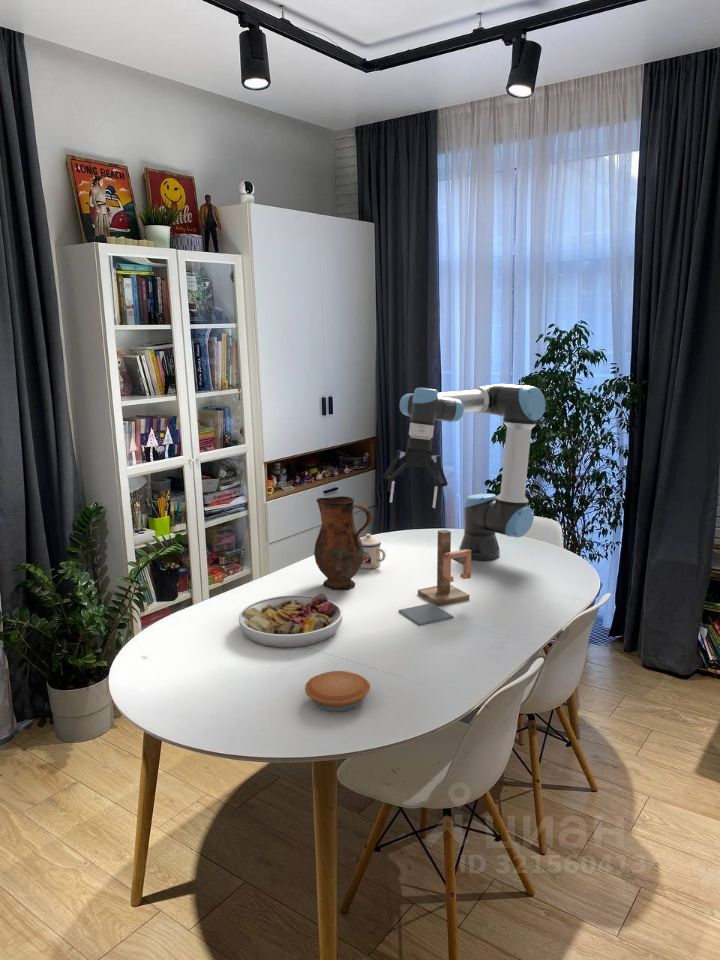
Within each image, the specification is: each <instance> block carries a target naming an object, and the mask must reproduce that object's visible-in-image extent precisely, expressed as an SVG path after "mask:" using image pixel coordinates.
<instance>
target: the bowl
mask: <svg viewBox="0 0 720 960" xmlns="http://www.w3.org/2000/svg"><path fill="white" fill-rule="evenodd" d="M342 621H343V610H342V608H341V607H340V606H339V605H338V604H337V603H335V602H333V601H332V600H329V599H328V597H327V595H326V594H325V593H321V592H320V593H318V594H317V593H316V594H315V595H313V596H312V595H311V596H310V595H295V594H294V595H293V594H291V595H280V596H273V597H269V598H265V599H262V600H258V601H255V602H253V603H251V604H249V605H247V606H246V607H244V608H243V609H242V610H241V612H240V613H239V615H238V624H239V628H240V629H241V631H242V633H243V634H244V635H245V636H246V637H247V638H248V639H250V640H251V641H253V642H255V643H258V644H261V645H264V646H266V647H267V646H268V647H273V648H298V647H304V646H310V645H313V644H318V643H319V642H322V641H324V640H327V639H328V638H329V637H331V636H332V635H334V634H335V633H336V632H337V631H338V630H339V628H340V626H341V625H342Z"/></svg>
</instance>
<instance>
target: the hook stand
mask: <svg viewBox="0 0 720 960" xmlns="http://www.w3.org/2000/svg"><path fill="white" fill-rule="evenodd" d="M451 539H452V531H450V530H448V529H440V530H437V550H436V551H437V554H436V555H437V557H436V558H437V562H436V564H437V565H436V566H437V567H436V572H437V573H436V585H433V586H429V587H424V588H420V589H418V588H417V595H419V596H420V597H422V598H423V599H425V600H427V601H429V602H430V603H433V604H434V605H436V606H438V607H441V606H445V605H448V604H449V605H450V604H454V603H458V602H463V601H468V600H470V594H468V593H467V592H465V591H463V590H461V589H460V588H458V587H456V586H454V585H452V584H451V582H448V583H446V582H444V581H443V555H444V553H448V552H452V551H451V550H452V549H451V546H452V544H451V541H452V540H451ZM452 560H453V561H455V562H457V563H459V564H461V565H463V564H464V563H465V560H464V559H463V557H459V558H453V559H452Z"/></svg>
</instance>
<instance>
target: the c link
mask: <svg viewBox="0 0 720 960" xmlns="http://www.w3.org/2000/svg"><path fill="white" fill-rule="evenodd" d="M459 557H460V558H462V559H464V560H465V563H464V564H462V568H463V569H462V570H463V571H462V572H460V578H461V579H463V580H467V579H471V577H472V559H471V550H469V549H464V550H454V551H451V552H448V553H444V555H443V581H444V582H446V583H448V582H450V583H453V582H454V580H455V579H454V576H453V575H452V560H453V558H459Z"/></svg>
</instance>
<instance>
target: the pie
mask: <svg viewBox="0 0 720 960" xmlns="http://www.w3.org/2000/svg"><path fill="white" fill-rule="evenodd" d="M370 689H371V684H370V682H369V681H368V680H367V679H366V678H365V677H364V676H362V675H360V674H358V673H355V672H351V671H350V672H349V671H344V670H333V671H327V672H323V673H320V674H317V675H314V676H312V677H311V678H310V679H309V680H308V681H307V682H306V684H305V686H304V691H305V694H306V695H307V696H308V697H309V698H310V699H311V701H312V702H313V704H314V705H315V706H316V707H317V708H318V709H321V710H322V711H326V712H328V713H329V712H332V713H342V712H343V713H345V712H349V711H351V710H353V709H356V708H357V707H358V706H360V704H361V703H362V701H363V700H364V698H365V697H366V696H367V694H368V693H369V692H370Z"/></svg>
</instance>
